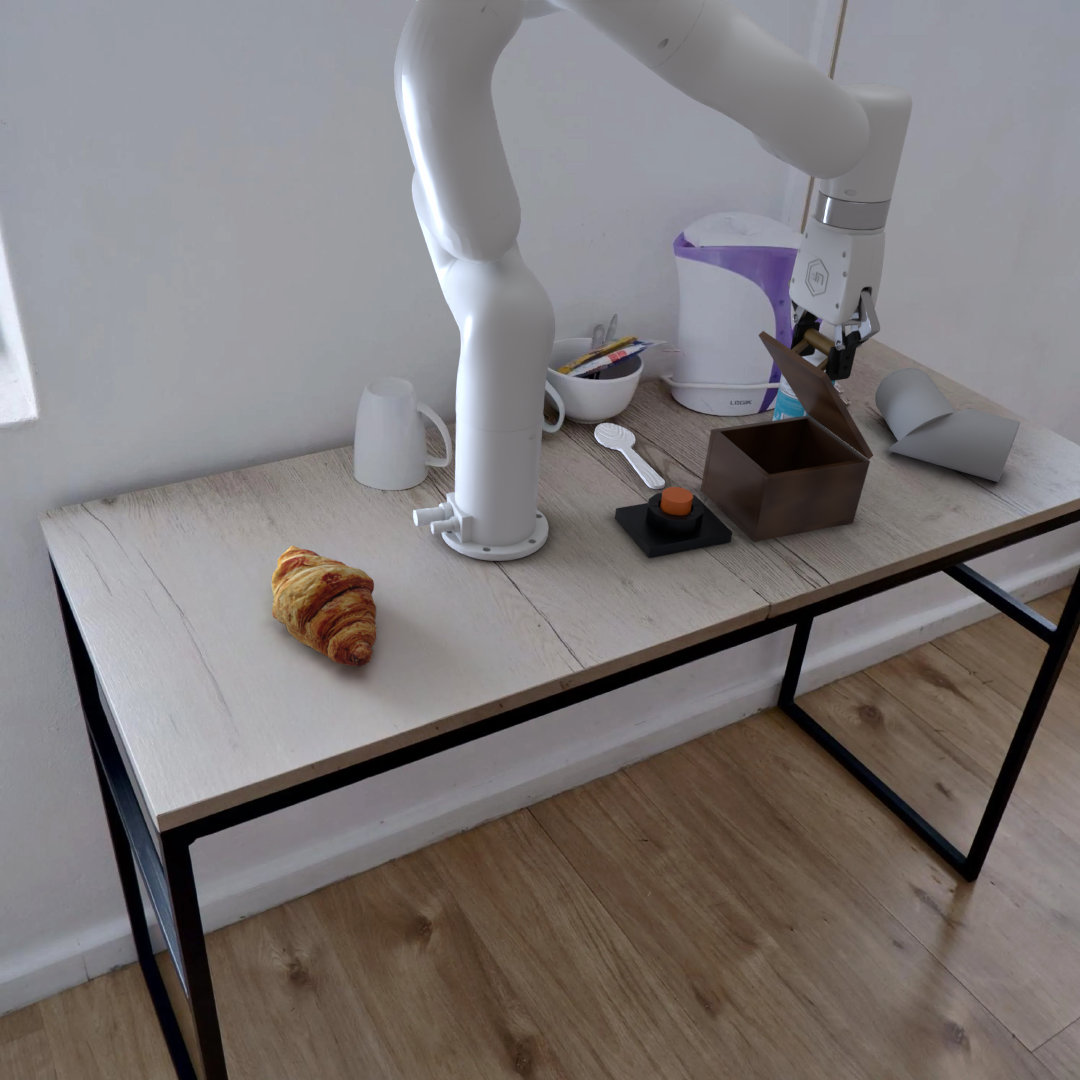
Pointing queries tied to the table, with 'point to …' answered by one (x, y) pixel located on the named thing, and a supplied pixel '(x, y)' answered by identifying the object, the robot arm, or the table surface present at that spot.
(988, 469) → the elbow connector
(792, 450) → the tea box
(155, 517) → the table surface
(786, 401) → the pill bottle
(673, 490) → the button
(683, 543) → the switch block
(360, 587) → the croissant
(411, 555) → the table surface
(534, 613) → the table surface
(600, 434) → the spoon
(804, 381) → the lid
